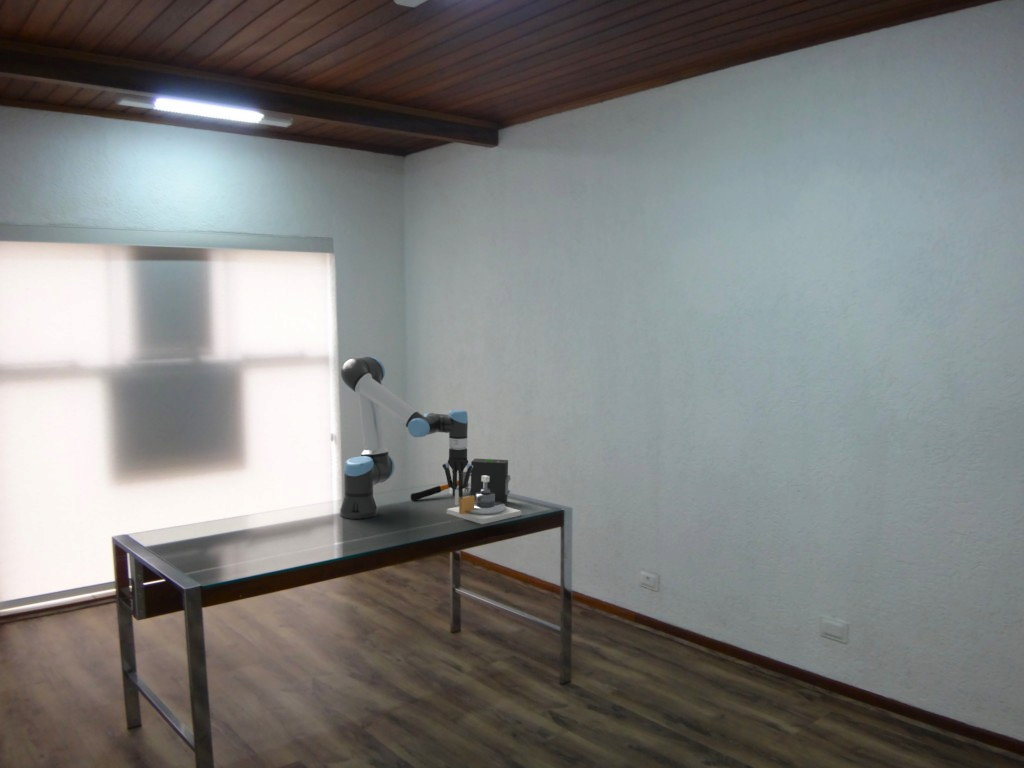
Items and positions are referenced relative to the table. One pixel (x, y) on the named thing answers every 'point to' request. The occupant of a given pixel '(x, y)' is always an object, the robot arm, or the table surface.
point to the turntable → (469, 506)
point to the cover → (485, 498)
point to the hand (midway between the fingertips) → (457, 504)
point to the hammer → (435, 490)
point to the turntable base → (485, 518)
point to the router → (496, 480)
